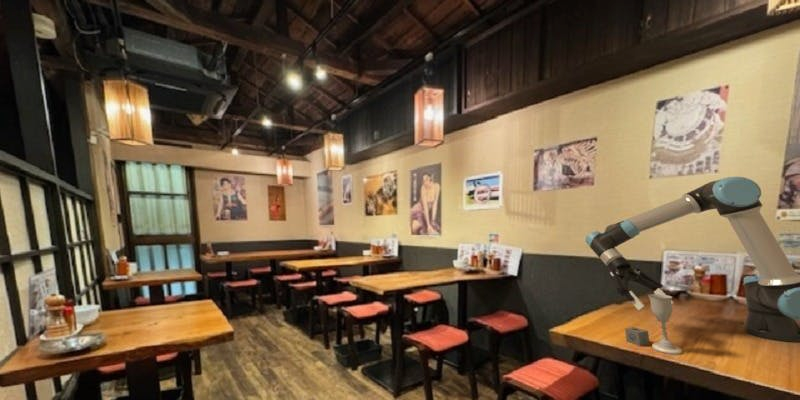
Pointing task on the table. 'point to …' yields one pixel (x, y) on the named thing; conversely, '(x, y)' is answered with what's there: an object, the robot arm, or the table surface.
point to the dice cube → (637, 336)
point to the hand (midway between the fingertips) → (656, 306)
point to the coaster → (666, 351)
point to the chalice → (662, 316)
